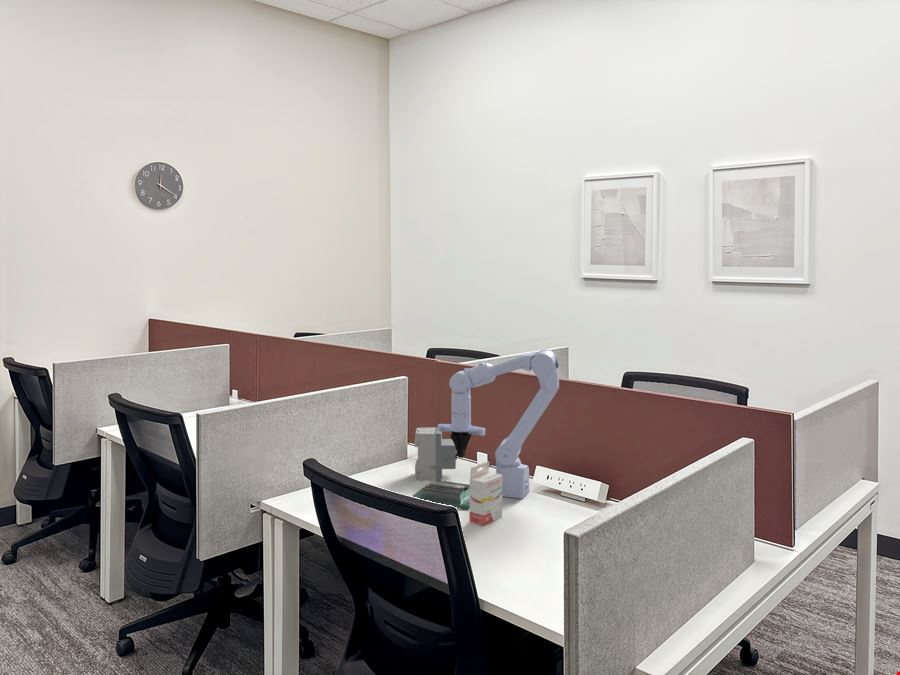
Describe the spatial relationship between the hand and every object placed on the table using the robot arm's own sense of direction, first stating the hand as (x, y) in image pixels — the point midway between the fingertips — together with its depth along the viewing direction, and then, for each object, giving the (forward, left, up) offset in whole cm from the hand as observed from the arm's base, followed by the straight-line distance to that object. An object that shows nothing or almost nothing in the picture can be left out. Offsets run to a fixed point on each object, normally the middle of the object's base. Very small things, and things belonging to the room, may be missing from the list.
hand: (461, 456), depth 209 cm
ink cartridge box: (-15, +20, -10) cm, 27 cm away
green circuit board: (+1, +9, -10) cm, 13 cm away
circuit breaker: (+11, -8, -10) cm, 17 cm away
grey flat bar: (+1, +9, -7) cm, 11 cm away
